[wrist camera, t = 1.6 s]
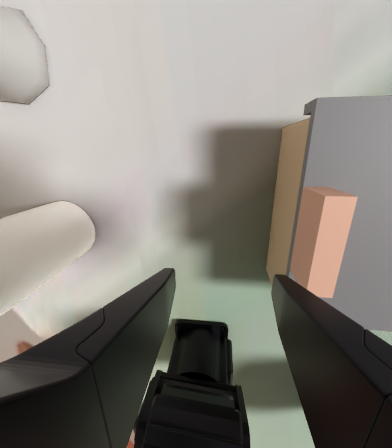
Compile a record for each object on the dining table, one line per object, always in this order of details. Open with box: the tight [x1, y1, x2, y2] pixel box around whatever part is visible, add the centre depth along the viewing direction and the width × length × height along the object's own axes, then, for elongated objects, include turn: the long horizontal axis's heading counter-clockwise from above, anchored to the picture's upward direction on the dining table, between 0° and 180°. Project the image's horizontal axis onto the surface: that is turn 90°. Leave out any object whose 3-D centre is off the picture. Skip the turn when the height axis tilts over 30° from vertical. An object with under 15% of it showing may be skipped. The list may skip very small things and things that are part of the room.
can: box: [0, 201, 95, 315], centre depth 18 cm, size 6×6×12 cm
